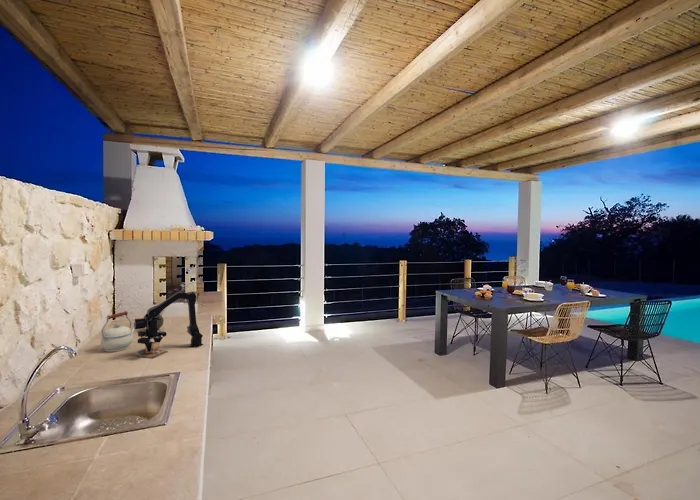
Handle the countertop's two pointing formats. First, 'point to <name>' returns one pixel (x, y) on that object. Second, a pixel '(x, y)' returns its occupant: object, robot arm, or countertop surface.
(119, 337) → the kettle
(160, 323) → the cantaloupe
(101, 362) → the countertop surface
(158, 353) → the board
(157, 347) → the tan cube
